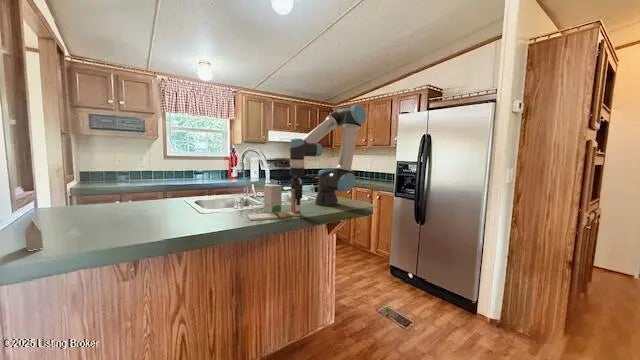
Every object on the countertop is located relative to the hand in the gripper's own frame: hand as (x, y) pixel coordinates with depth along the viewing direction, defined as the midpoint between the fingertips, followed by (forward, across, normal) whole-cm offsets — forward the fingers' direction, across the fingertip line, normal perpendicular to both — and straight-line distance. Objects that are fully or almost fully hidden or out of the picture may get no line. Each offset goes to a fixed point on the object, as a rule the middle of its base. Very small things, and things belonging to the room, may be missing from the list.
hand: (296, 209), depth 151 cm
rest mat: (+3, +1, -19) cm, 19 cm away
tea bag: (+3, +18, -101) cm, 102 cm away
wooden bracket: (+3, 0, -4) cm, 5 cm away
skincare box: (+3, -9, -11) cm, 15 cm away
